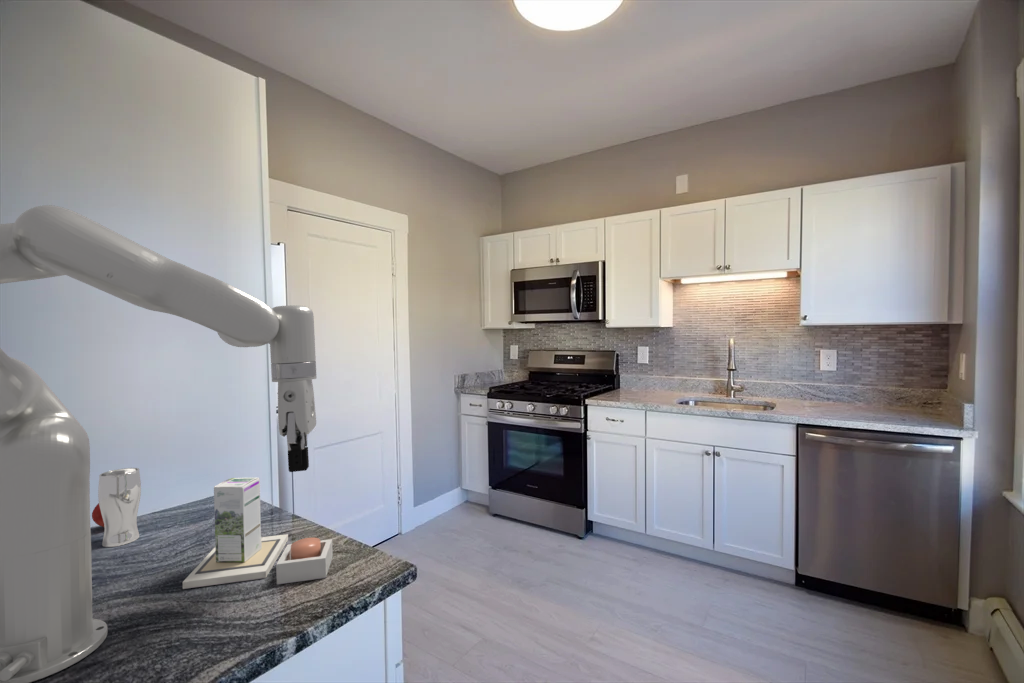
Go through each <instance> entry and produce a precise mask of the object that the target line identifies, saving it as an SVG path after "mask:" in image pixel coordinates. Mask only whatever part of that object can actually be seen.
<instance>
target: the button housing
mask: <svg viewBox="0 0 1024 683" xmlns="http://www.w3.org/2000/svg"><path fill="white" fill-rule="evenodd" d="M320 542H321V555H320V556H319V557H311V558H303V559H295V560H291V545H292V544H293V543H288V544H287V545H286V546H285V547H284V549H283V552H282V554H280V555H281V556H280V557H279V559H278V561H276V565H275V566H276V567H275V569H276V573H275V574H276V585H283V584H289V583H297V582H298V583H299V582H305V581H312V580H318V579H326V578H327V575H328V572H329V570H330V567H331V563H332V562H333V561H332V560H333V558H334V557H333V556H334V555H333V553H334V552H333V548H334V547H333V538H331V539H322V540H321V539H320Z"/></svg>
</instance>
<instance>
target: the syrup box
mask: <svg viewBox="0 0 1024 683" xmlns="http://www.w3.org/2000/svg"><path fill="white" fill-rule="evenodd" d="M213 503H214V508H213V509H214V538H215V539H214V540H215V541H214V543H215V546H214V547H216V562H246V561H247V560H249V559H250V558H251V557H253V556H254V555H255V554H256V553H257V552H259V551H260V550H261V548H262V543H261V537H262V529H261V526H262V525H261V524H262V523H261V522H262V520H261V518H262V517H261V480H260V477H231V478H228V479H226V480H223V481H222V482H220V483H218V484H216V485H215V486H213Z"/></svg>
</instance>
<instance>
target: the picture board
mask: <svg viewBox="0 0 1024 683" xmlns="http://www.w3.org/2000/svg"><path fill="white" fill-rule="evenodd" d="M288 541H289V534H279V535H278V534H277V535H269V536H261V543H262V548H261V550H260V551H259V552H257V553H256V554H255V555H254V556H253V557H251V558H250V559H249V560H247V561H246V562H216V546H214V547H213V548H212V550H211V551H210V552H209V553H208V554H207V555H206V556H205V557H204V558H203V559H202V561H201V562H200V563H199V564H198V565H197V566H196V567H195V568H194V569H193V570H192V572H191V573H189V574H188V576H186V578H185V579H184V580H183V581H182V590H185V589H191V588H200V587H208V586H214V585H221V584H229V583H230V584H231V583H237V582H245V581H246V582H247V581H252V580H254V581H255V580H259V579H266V578H267V577H268V576H269V573H270V572H271V570H272V568H273V567H274V565H275V563H277V559H278V558H279V556H280V555H281V553H282V551H284V549H285V547H286V544H287V543H286V542H288Z"/></svg>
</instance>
